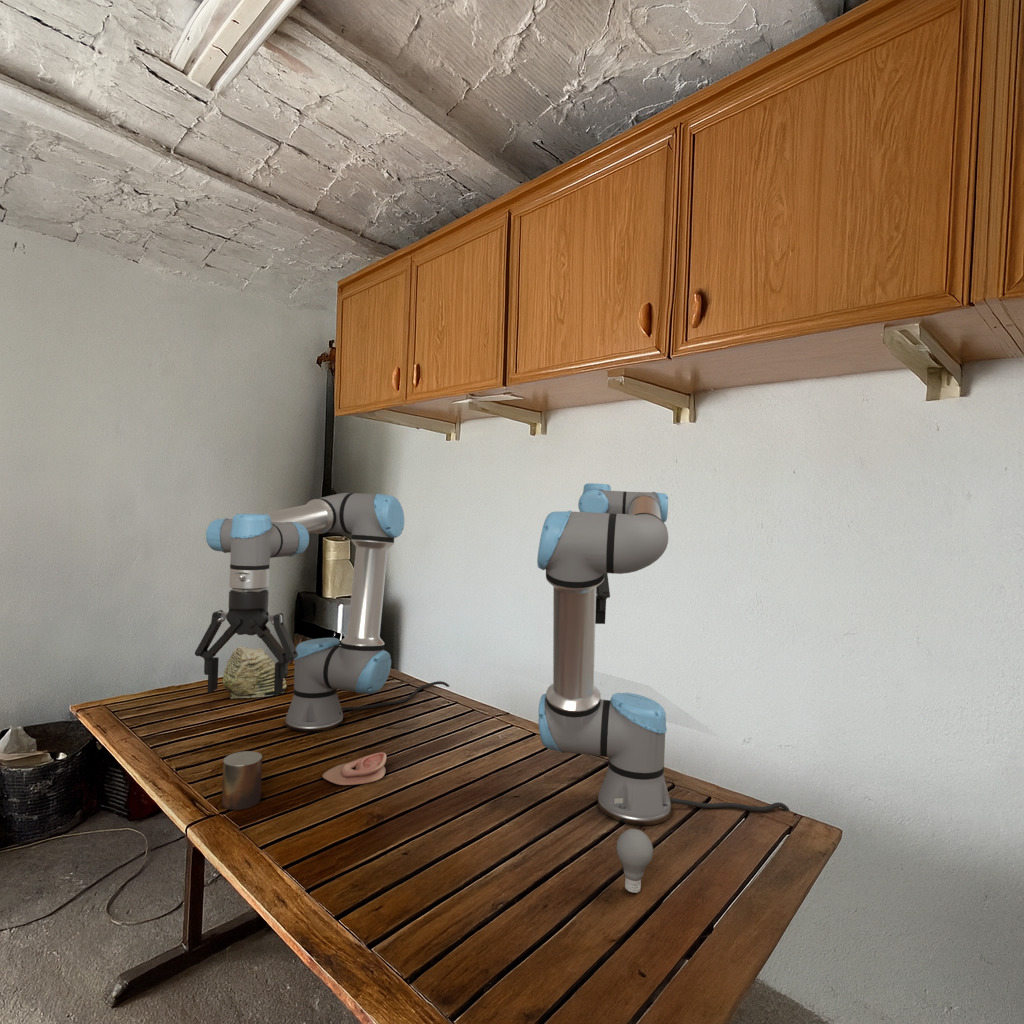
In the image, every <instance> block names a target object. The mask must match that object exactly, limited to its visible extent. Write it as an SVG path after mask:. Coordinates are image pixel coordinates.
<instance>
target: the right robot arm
mask: <svg viewBox="0 0 1024 1024" xmlns="http://www.w3.org/2000/svg"><path fill="white" fill-rule="evenodd" d="M582 490H583V491H582V494H581V495H580V496H579V499H578V504H577V507H578V509H579V511H573V510H568V511H567V510H566V511H564V510H561V511H551V512H550V513H548V514H547V515H546V517H545V519H544V522H543V525H542V529H541V533H540V538H539V544H538V550H537V558H536V559H537V561H536V563H537V565H536V566H537V568H538V569H540V570H542V571H545V579H546V581H547V582H548V584H550V585H551V586H552V587H553V590H552V591H553V597H552V598H553V599H552V600H553V602H552V605H553V606H552V608H553V611H552V612H553V613H552V616H553V624H552V625H553V629H552V630H553V631H552V632H553V633H552V634H553V637H552V638H553V640H552V641H553V644H552V645H553V647H552V648H553V649H552V650H553V651H552V652H553V653H552V663H553V665H552V666H553V667H552V673H553V674H552V683H551V684H550V685H549V686H548V687H547V689H546V692H545V693H543V694H542V695H541V696H540V699H539V703H538V710H537V711H538V720H537V721H538V723H537V724H538V732H539V737H540V741H541V743H542V745H543V747H545V748H546V749H547V750H551V751H556V752H560V753H563V754H565V753H571V754H578V755H586V756H587V755H588V756H596V757H602V758H608V764H607V765H608V766H607V769H606V773H605V775H604V778H603V781H602V783H601V786H600V788H599V791H598V795H597V796H598V797H597V806H598V808H599V810H600V812H602V813H603V814H604V815H606V816H608V817H609V818H611V819H613V820H615V821H618V822H620V823H624V824H628V825H634V826H654V825H659V824H662V823H664V822H666V821H667V820H668V819H669V818H670V817H671V814H672V804H677V805H683V806H690V807H696V808H701V809H725V808H727V809H729V808H730V809H739V810H745V811H751V812H757V813H758V812H760V813H761V812H762V813H766V812H769V811H772V810H775V809H777V808H780V809H783V810H784V811H786V812H790V811H791V810H790V808H789V807H788V806H787V805H786V804H785V803H783V802H774V803H771V804H768V805H765V806H754V805H748V804H743V803H738V802H737V803H736V802H716V803H715V802H714V803H713V802H712V803H711V802H710V803H709V802H708V803H707V802H698V801H693V800H688V799H680V798H674V797H670V794H669V790H668V787H667V783H666V780H665V748H666V733H667V731H668V727H667V714H666V711H665V708H664V707H663V705H661V704H660V703H659V702H657V701H656V700H654V699H652V698H649V697H647V696H644V695H642V694H641V695H640V694H637V693H632V692H615V693H613V694H612V695H611V697H610V699H601V698H602V695H601V692H600V690H599V688H598V687H597V686H596V685H595V655H596V654H595V653H596V650H595V649H596V625H606V615H607V614H606V613H607V599H610V597H611V592H610V591H611V590H610V584H609V576H608V574H611V575H612V574H613V575H614V574H617V575H622V574H630V573H635V572H637V571H641V570H643V569H645V568H647V567H649V566H651V565H653V564H654V563H655V562H657V561H658V560H659V559H660V558H662V556H663V555H664V553H665V552H666V550H667V547H668V544H669V531H668V527H667V526H666V524H665V523H666V522H667V520H668V515H669V514H668V513H669V512H668V511H669V496H668V494H666V493H665V492H657V491H651V492H650V491H623V490H612V487H611V485H610V484H609V483H608V484H607V483H595V482H594V483H593V482H592V483H591V482H590V483H589V482H588V483H585V484H584V485H583V489H582ZM769 805H770V806H769Z"/></svg>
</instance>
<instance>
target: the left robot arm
mask: <svg viewBox="0 0 1024 1024" xmlns="http://www.w3.org/2000/svg"><path fill="white" fill-rule="evenodd" d="M404 528H405V513H404V510H403V506H402V504H401V502H400V501H399V499H398V498H397V497H395V496H394V495H390V494H383V493H360V492H357V493H356V492H341V493H336V494H330V495H327V496H323V497H318V498H314V499H311V500H309V501H307V502H306V504H301V505H298V506H293V507H287V508H284V509H278V510H273V511H268V512H264V513H236V514H234V515H233V517H232V519H231V518H228V517H225V518H216V519H214V520H212V521H211V522H210V524H208V526H207V528H206V532H205V538H206V539H205V541H206V543H207V546H208V547H209V548H210V549H211V550H213V551H215V552H221V553H224V554H229V553H230V560H229V561H230V564H229V584H228V585H229V588H230V590H229V591H228V611H227V612H225V611H224V610H222V609H219V610H216V611H214V612H212V614H211V621H210V624H209V626H208V627H207V628H206V631H205V633H204V635H203V636H202V639H201V640H200V642H199V644H198V646H197V648H196V649H195V651H194V655H195V656H196V657H200V658H202V659H203V660H204V661H203V662H204V664H203V669H204V670H203V673H204V675H205V676H207V693H213V692H215V691H217V689H218V687H219V686H218V685H219V659H220V657H219V656H217V654H218V652H220V650H221V649H223V648H224V646H225V645H226V644H227V643H228V642H229V641H230V640H231V639H232V637H234V635H236V634H237V635H238V636H244V635H247V636H251V637H253V636H255V635H256V636H257V637H258V638H259V639H261V641H262V642H263V643H264V645H265V646H266V647H267V648H268V649H269V651H270V652H271V654H272V655H273V656H274V658H276V660H277V662H274V663H275V680H274V695H273V696H276V697H278V696H279V695H281V694H283V693H284V692H283V678H285V679H286V678H287V677H288V675H289V662H292V661H293V660H294V672H293V673H294V674H293V695H292V696H293V697H292V699H291V702H290V704H289V708H288V709H287V713H286V715H285V726H286V728H287V729H289V730H291V731H294V732H295V731H296V732H301V733H316V732H325V731H329V730H332V729H335V728H337V727H339V726H340V725H342V723H343V722H344V714H343V711H360V710H368V709H373V708H374V709H375V708H380V707H385V706H392V705H398V704H404V703H405V702H408V701H410V700H411V699H412V698H413V697H414V696H416V695H417V694H418V692H419V691H421V690H423V689H427V688H429V687H432V686H436V685H443V686H445V687H446V688H449V687H451V686H450V685H449V684H448V683H447V682H445V681H442V680H440V681H433V682H429V683H426V684H423V685H420V686H419V687H417V688H416V689H415V690H414V691H413V692H412V693H411V694H410V695H409V696H407V697H405V698H402V699H398V700H393V701H386V702H380V703H374V704H369V705H360V706H341V702H340V699H339V695H338V691H345V692H351V693H357V694H359V695H362V694H366V695H373V694H376V693H378V692H379V691H380V690H381V689H382V688H383V687H384V685H385V684H386V682H387V680H388V678H389V676H390V672H391V668H392V658H391V654H390V652H388V651H387V650H385V642H384V641H383V639H382V638H381V636H380V635H381V626H382V625H381V624H382V614H383V605H384V593H385V583H386V572H387V561H388V552H389V549H390V548H391V547H393V546H394V544H395V539H396V538H398V537H400V536H401V535H402V534H403V531H404ZM313 533H314V534H316V535H321V534H326V533H332V534H334V533H335V534H342V535H343V534H344V535H351V538H350V541H351V543H352V544H353V546H355V553H354V565H353V575H352V584H351V585H352V586H351V596H350V604H349V605H350V606H349V616H348V627H347V634H346V636H344V638H342V639H341V641H340V639H339V638H337V637H321V638H313V639H307V640H304V641H302V642H299V643H298V644H297V645H296V647H295V644H294V643H293V640H292V638H291V635H290V633H289V631H288V628H287V627H286V624H285V617H284V616H285V615H284V614H283V613H282V612H279V613H275V614H269V613H270V612H269V597H270V596H269V592H270V591H269V590H268V587H269V586H270V565H271V563H270V562H271V558H283V557H290V558H292V557H293V556H297V555H301V554H302V553H304V552H305V551H306V550H307V549H308V546H309V544H310V534H313ZM225 621H227V622H228V624H229V626H228V627H227V629H226V630H225V631H224V633H222V635H221V636H220V637H219V638H218V639H217V640H216V642H214V643H213V644H212V642H213V640H214V639H215V637H216V635H217V633H218V632H219V629H220V628H221V626H222V625H223V623H224V622H225ZM269 622H270V623H271V625H272V626H273V628H274V631H275V633H276V635H277V637H278V640H279V641H278V640H277V639H276V638H275V637H274V635H273V634H272V632H271V629H270V628H269V627H268V625H267V624H268V623H269ZM279 642H280V643H279ZM211 644H212V646H211ZM209 647H210V648H209ZM216 656H217V657H216ZM282 692H283V693H282Z"/></svg>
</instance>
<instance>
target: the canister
mask: <svg viewBox="0 0 1024 1024" xmlns="http://www.w3.org/2000/svg"><path fill="white" fill-rule="evenodd" d="M262 776H263V754H262V753H260V752H258V751H252V750H243V751H238V752H234V753H231V754H228V755H226V756H225V757H223V761H222V785H221V786H222V789H221V806H222V807H223V808H225V809H227V810H231V811H241V810H246V809H249V808H250V809H251V808H252V807H254V806H256V805H257V804H259V803H260V802H261V799H262V779H263V778H262Z"/></svg>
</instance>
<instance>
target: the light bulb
mask: <svg viewBox="0 0 1024 1024" xmlns="http://www.w3.org/2000/svg"><path fill="white" fill-rule="evenodd" d="M615 849H616V854H617V857H618V859H619V861H620V863H621V865H622V867H623V873H624V874H623V875H624V876H625V878H624V888H625V890H627V891H628V892H630V893H634V894H635V893H639V892H640V891H641V889H642V887H641V886H642V879H643V877H644V875H645V871H646V868H647V867H648V866H649V864H650V863H651V861H652V859H653V855H654V847H653V843H652V841H651V838H649V836H648V835H647V834H646V833H645V832H643V831H642V830H641V829H636V828H629V829H627V830H625V831H623V832H622V833H621V834H620V835H619V837H618V839H617V841H616V847H615Z"/></svg>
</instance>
